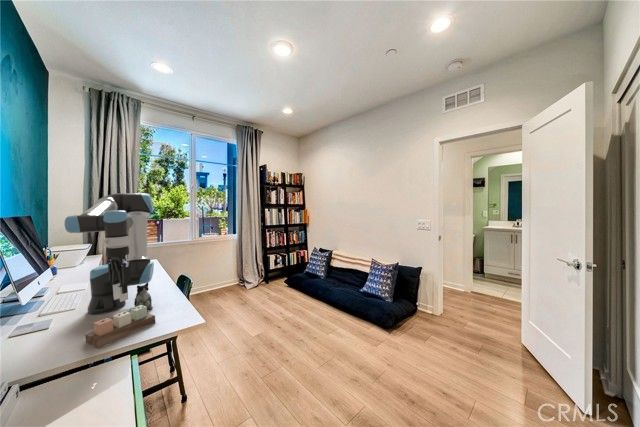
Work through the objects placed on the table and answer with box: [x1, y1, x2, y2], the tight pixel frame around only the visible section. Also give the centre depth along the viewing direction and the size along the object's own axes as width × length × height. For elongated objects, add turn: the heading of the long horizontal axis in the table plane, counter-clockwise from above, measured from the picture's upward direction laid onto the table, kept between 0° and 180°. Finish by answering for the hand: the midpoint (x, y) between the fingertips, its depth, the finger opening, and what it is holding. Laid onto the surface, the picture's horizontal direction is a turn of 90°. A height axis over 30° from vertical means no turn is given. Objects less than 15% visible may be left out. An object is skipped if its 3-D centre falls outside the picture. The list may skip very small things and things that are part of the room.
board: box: [84, 312, 156, 350], centre depth 102 cm, size 10×21×4 cm, turn 156°
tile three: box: [129, 305, 148, 321], centre depth 108 cm, size 4×4×5 cm
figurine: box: [129, 282, 153, 312], centre depth 121 cm, size 10×10×15 cm
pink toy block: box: [93, 317, 114, 337], centre depth 96 cm, size 4×4×5 cm
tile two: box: [112, 310, 131, 328], centre depth 102 cm, size 4×4×5 cm
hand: (121, 299), depth 101 cm, fingers open, 4 cm apart
